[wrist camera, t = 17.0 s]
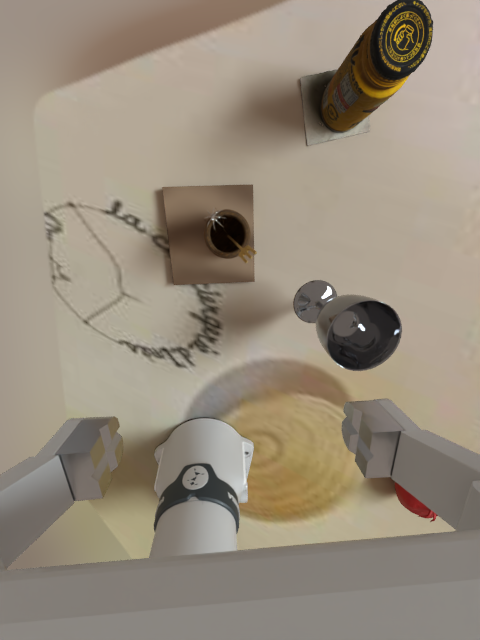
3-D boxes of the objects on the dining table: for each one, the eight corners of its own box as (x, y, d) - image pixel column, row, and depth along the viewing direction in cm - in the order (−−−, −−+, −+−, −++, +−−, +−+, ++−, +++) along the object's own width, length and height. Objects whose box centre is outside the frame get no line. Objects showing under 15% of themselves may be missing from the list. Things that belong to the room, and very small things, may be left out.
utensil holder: (226, 202, 34) (226, 184, 23) (258, 236, 36) (273, 235, 24) (197, 235, 35) (182, 233, 24) (229, 266, 37) (231, 279, 25)
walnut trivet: (253, 280, 39) (254, 281, 38) (175, 283, 38) (173, 284, 37) (251, 186, 35) (252, 184, 33) (164, 188, 34) (162, 187, 33)
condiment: (369, 131, 33) (442, 77, 22) (306, 146, 34) (348, 99, 22) (366, 63, 31) (447, -38, 20) (299, 79, 31) (341, -12, 20)
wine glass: (283, 317, 41) (314, 359, 27) (303, 270, 39) (348, 289, 24) (327, 331, 42) (378, 379, 28) (348, 287, 40) (416, 314, 26)
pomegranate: (381, 489, 55) (410, 537, 46) (396, 453, 52) (431, 498, 43) (422, 492, 56) (459, 540, 47) (440, 457, 53) (483, 501, 44)
